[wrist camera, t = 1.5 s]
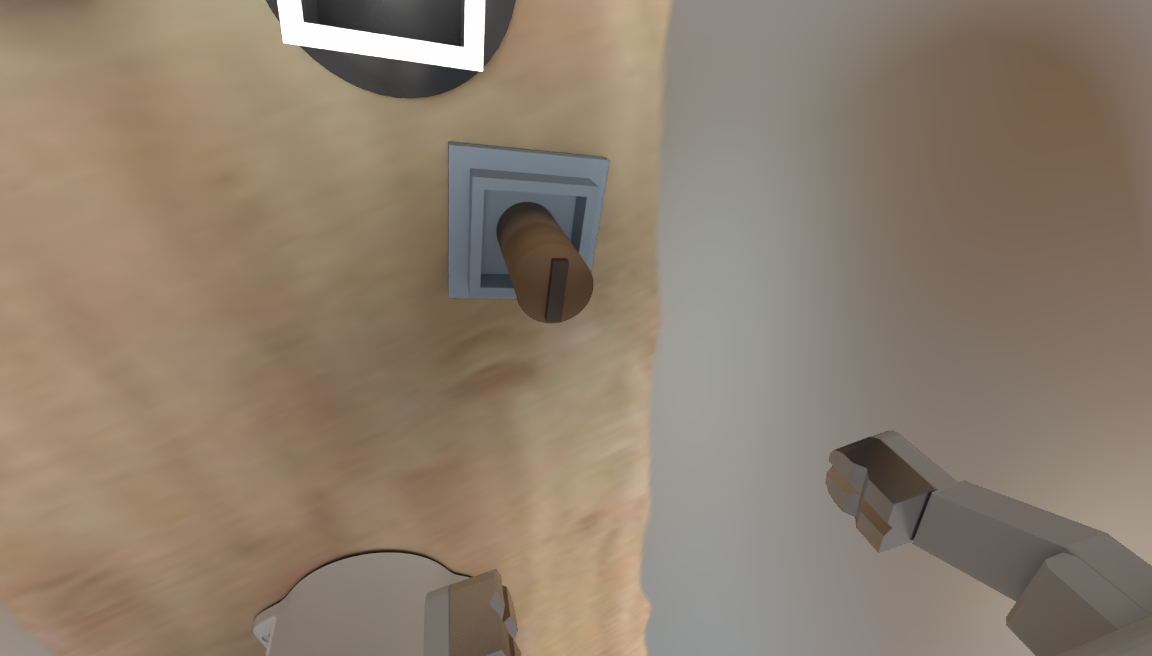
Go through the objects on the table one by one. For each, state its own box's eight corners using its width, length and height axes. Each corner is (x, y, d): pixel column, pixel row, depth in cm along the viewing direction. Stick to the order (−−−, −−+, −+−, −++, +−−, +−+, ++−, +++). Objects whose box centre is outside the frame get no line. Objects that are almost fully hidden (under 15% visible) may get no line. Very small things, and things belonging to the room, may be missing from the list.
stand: (583, 292, 32) (595, 313, 30) (448, 291, 30) (449, 313, 27) (604, 156, 28) (621, 167, 25) (448, 141, 25) (450, 151, 23)
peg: (552, 260, 29) (589, 326, 22) (494, 258, 28) (514, 327, 21) (559, 203, 28) (601, 256, 21) (498, 199, 27) (520, 253, 20)
